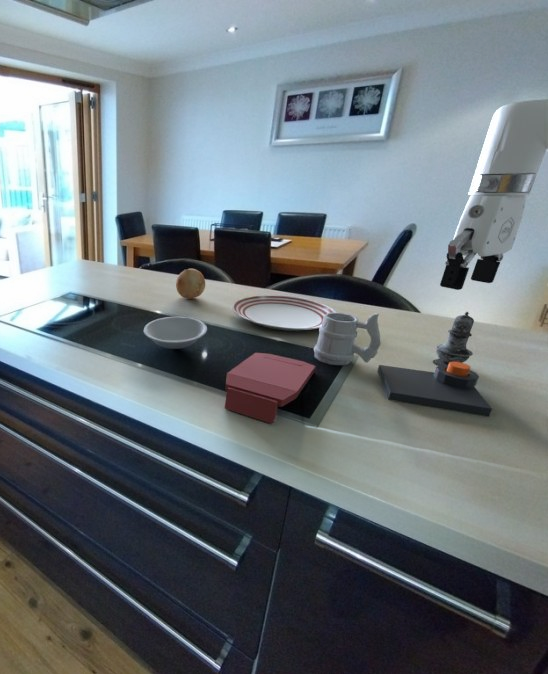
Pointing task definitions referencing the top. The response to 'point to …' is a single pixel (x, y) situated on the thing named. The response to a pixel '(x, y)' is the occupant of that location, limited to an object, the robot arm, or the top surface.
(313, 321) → the dinner plate
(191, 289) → the onion
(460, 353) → the salt shaker
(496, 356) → the top surface
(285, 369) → the carton
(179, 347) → the dish
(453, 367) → the button
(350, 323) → the mug
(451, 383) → the scale
